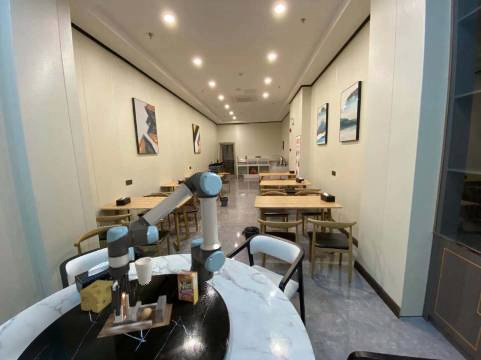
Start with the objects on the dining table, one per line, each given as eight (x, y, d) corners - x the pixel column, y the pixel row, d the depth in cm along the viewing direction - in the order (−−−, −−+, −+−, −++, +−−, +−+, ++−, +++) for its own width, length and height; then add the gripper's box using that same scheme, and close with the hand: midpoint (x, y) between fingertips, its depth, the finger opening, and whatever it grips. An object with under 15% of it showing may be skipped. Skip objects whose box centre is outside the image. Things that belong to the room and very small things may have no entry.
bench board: (172, 306, 96) (171, 291, 96) (169, 327, 84) (168, 311, 83) (110, 317, 91) (109, 301, 90) (97, 341, 78) (95, 323, 77)
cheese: (98, 313, 93) (96, 293, 92) (79, 310, 95) (78, 290, 94) (116, 298, 103) (115, 280, 102) (99, 296, 105) (97, 278, 105)
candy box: (178, 302, 99) (177, 273, 98) (183, 297, 103) (182, 268, 102) (194, 305, 97) (192, 275, 95) (198, 300, 101) (197, 271, 100)
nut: (152, 313, 90) (152, 305, 90) (151, 320, 86) (150, 311, 86) (143, 315, 89) (143, 306, 89) (141, 321, 85) (140, 313, 85)
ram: (141, 311, 91) (140, 285, 90) (136, 325, 83) (134, 297, 82) (120, 315, 89) (118, 288, 88) (112, 329, 81) (110, 300, 80)
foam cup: (133, 282, 117) (132, 261, 116) (149, 275, 124) (148, 255, 123) (140, 288, 111) (139, 266, 110) (156, 281, 118) (155, 260, 117)
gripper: (118, 254, 92) (121, 301, 94) (98, 277, 73) (102, 335, 75) (135, 252, 94) (138, 298, 96) (120, 274, 75) (124, 331, 77)
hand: (122, 315), depth 85 cm, fingers closed on ram, 7 cm apart
